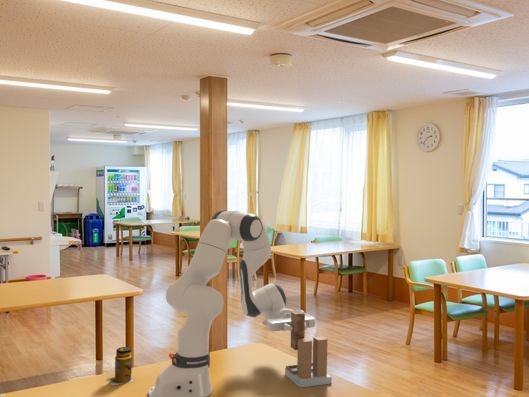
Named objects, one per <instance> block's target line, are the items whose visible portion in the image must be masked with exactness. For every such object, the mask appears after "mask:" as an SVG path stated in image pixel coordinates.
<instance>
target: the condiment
mask: <svg viewBox="0 0 529 397" xmlns="http://www.w3.org/2000/svg"><path fill="white" fill-rule="evenodd" d="M115 352H116V354H115V357H114V377H107V378H106V379H107V382H109V384H110V385H111V386H118V385H122V384H123V385H124V384H127V383H134V382H135V380H134V379H133V377H132V370H133V369H132V363H133V362H132V361H133V360H132V359H133V356H132V353H131V352H132V349H131V347H129V346H121V347H118V348H117V349H116V351H115Z"/></svg>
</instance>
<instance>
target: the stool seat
mask: <svg viewBox="0 0 529 397" xmlns="http://www.w3.org/2000/svg"><path fill="white" fill-rule="evenodd" d="M296 361H297V363H296V364H292V365H290V364H289V365H285V368H284V370H285V372H284V375H287V376H286V377H287V378H288V379H289V380H291V381H292V383H293V382H294V384H295V385H297V386H298V387H299V388H300V389H301V388H302V387H303V388H309V387H313V386H314V387H316V386H322V385H328V384H329V385H331V384H332V380H333V379H332V376H331V375H329V374H328V373H327V372H328V339H327V337H324V336H322V335H321V336H313V337H312V340H311V339H310V338H309V337H304V338H301V339H298V350H297V360H296Z"/></svg>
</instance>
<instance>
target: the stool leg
mask: <svg viewBox="0 0 529 397" xmlns="http://www.w3.org/2000/svg"><path fill="white" fill-rule="evenodd" d="M305 313H306V312H304V313H303V312H301V311H295V312H291V326H294V331H290V348H291V349H293V350H294V351H298V339H301V338H305V335H306V334H305V332H306V330H305Z"/></svg>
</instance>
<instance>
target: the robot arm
mask: <svg viewBox="0 0 529 397" xmlns="http://www.w3.org/2000/svg"><path fill="white" fill-rule="evenodd" d="M231 240H234V241H240V242H241V244H242V247H243V255H242V258H241V260H240V262H239V280H240V290H241V292H240V293H241V296H240V303H241V308H242V311H243V313H244V314H245V315H246V316H248V317H251V318H257V317H258V316H260V315H261V314H262V315H263V317H264V318H265V320H263V321H262V324H263V325H265V328H266V329H267V331H269V332H279V331H282V332H283V331H284V332H285V331H289V332H291V331H294V326H291V312H295V311H301V312H303V313H305V331H306V330H307V329H309V328H314V327H316V318H315V317H314V316H313V315H311V314H309V313H306V312H305V311H304V310H302V309H292V308H287V307H286V305H287V298H286V297H287V296H286V294H285V291H284V289H283V288H282V287H281V286H280V285H278V284H277V283H274V282H271V283H268V284H266V285H264V286H262V287H260V288H257V289H256V290H254V289H253V276H254V275H255V273H256V272H257V271H258V270H259V269H260V268H261V267H262V266H263V265H265V263H266V262H267V261H268V260H269V259H270V257H271V254H272V245H271V241H270V237H269V234H268V231H267V229H266V225H265V224H264V222H263V221H262V220H261V218H260V217H259V216H258V215H255V214H253V213H247V212H242V211H240V210H239V211H237V210H227V209H225V210H219V211H217V212H215V213H214V214H213V216H212V217H211V219H210V221H208V222H207V224H206V226H205V227H204V229H203V231H202V234H201V235H200V237H199V240H198V243H197V245H196V248H195V250H194V253H193V256H192V258H191V260H190V263H189V264H188V266H187V268H186V269H185V270H184V272H183V273H182V274H181V276H180V277H178V279H177V280H175V281H173V282H171V283H170V285H169V286H168V287H167V289H166V292H165V300H166V302H167V304H168V305H169V306H170V307H172V308H173V309H175V310H176V311H179V312H182V313H185V314H186V321H185V323H184V325H182V326H181V327H180V328H179V330H178V332H177V352H176V353H174V352H172V351H170V352H169V353H168V357H169V359H170V360H171V364H169V365H168V366H167V367H166V368H165V369H163V370H162V371H160V373H158V374H157V376H156V378H155V379H156V380H155V384H154V385H153V386H151V387H149V389H148V393H147V394H148V397H209V396H210V395H212V393H213V387H212V383H211V377H210V365H211V353H210V351H209V348H210V331H211V327H212V324H213V322H214V320H215V319H216V317H218V316H219V315H220V314H221V313H222V311H223V308H224V305H225V304H224V303H225V301H224V300H225V299H224V296H223V294H222V293H221V292H220V291H218V290H217V289H215V288H214V287H212V286H208V285H207V284H208V283H209V282H210V281H211V279H212V278H215V277H217V275H218V274H219V273H220V272H221V269H222V267H223V264H224V261H225V258H226V255H227V252H228V249H229V246H230V242H231Z"/></svg>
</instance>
